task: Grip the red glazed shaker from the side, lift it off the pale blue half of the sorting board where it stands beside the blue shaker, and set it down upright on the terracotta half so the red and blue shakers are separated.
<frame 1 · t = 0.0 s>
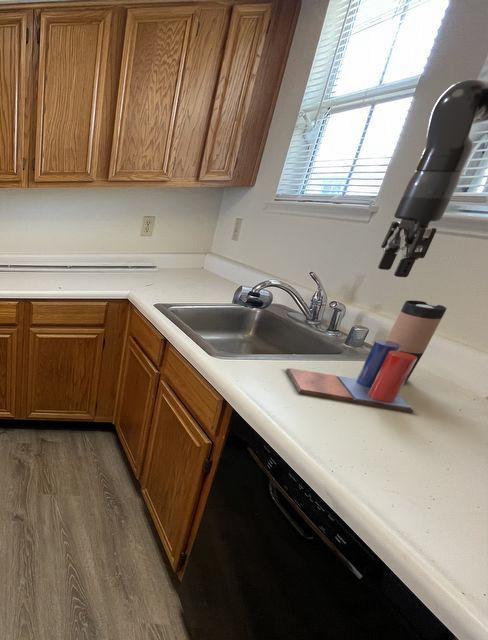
hand: (391, 272, 95), 28 cm above the countertop, tool pointing down, fingers open, 8 cm apart
blue shaker: (368, 384, 104), point 1 cm above the countertop, touching sorting board
travel mug: (388, 378, 111), on the countertop
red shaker: (380, 397, 98), point 1 cm above the countertop, touching sorting board
sorting board: (343, 390, 103), on the countertop
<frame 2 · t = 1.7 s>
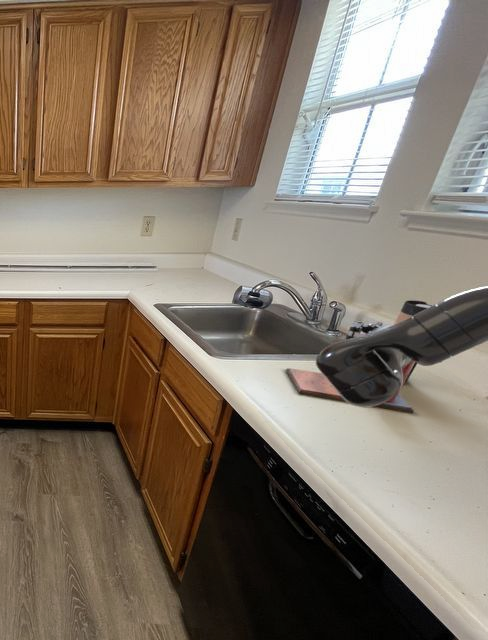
hand: (405, 333, 82), 20 cm above the countertop, tool horizontal, fingers open, 8 cm apart
nothing on the countertop moved.
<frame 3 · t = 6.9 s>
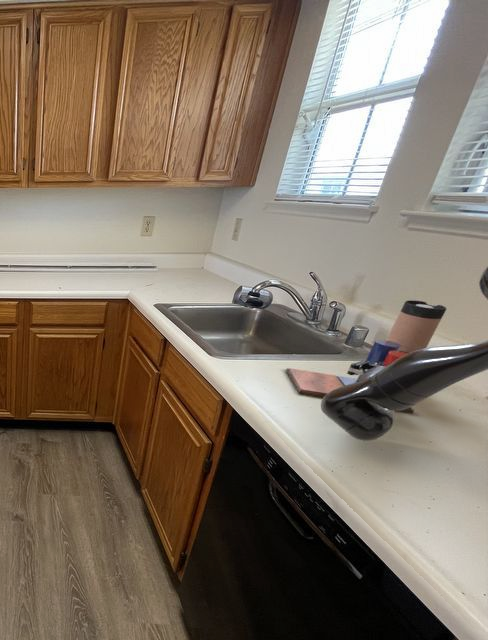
hand: (396, 368, 96), 8 cm above the countertop, tool horizontal, fingers closed on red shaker, 4 cm apart
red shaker: (380, 397, 98), point 1 cm above the countertop, touching gripper, sorting board
everything else where it was.
when the fingers open (8 cm above the countertop, at t = 13.7 s): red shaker stays where it is, resting on sorting board.
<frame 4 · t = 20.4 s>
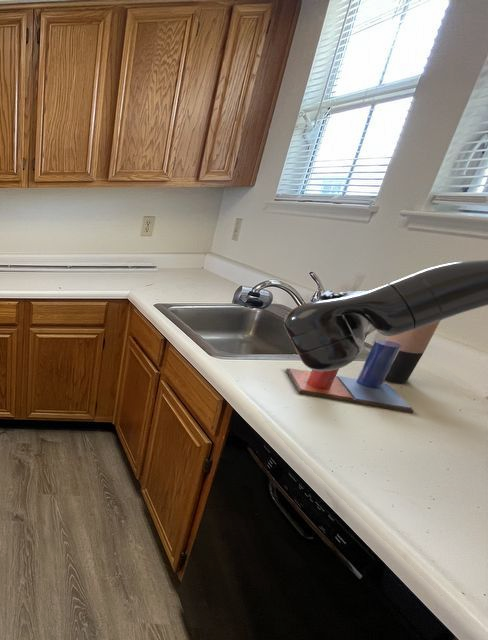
hand: (376, 301, 81), 26 cm above the countertop, tool horizontal, fingers open, 8 cm apart
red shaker: (318, 385, 103), point 1 cm above the countertop, touching sorting board
everything else where it was.
at the end: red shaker inside the target area (2.1 cm from its centre), point 1.1 cm above the countertop; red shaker tilted 0°; blue shaker moved 0.0 cm from its start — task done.
